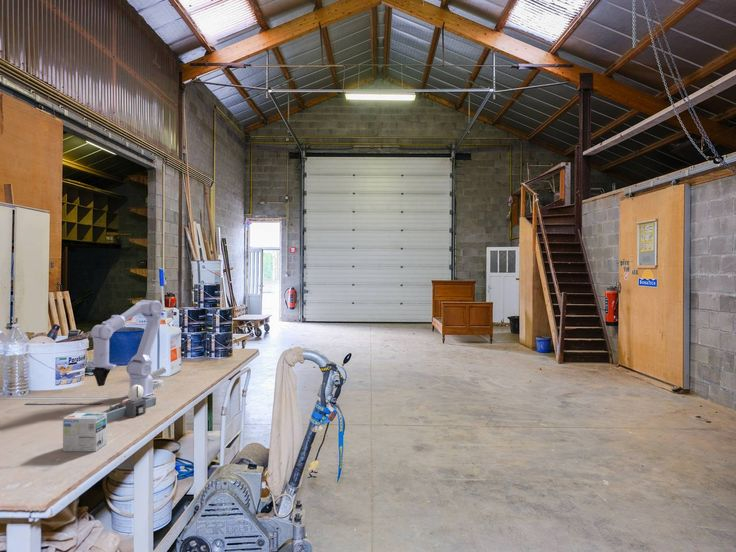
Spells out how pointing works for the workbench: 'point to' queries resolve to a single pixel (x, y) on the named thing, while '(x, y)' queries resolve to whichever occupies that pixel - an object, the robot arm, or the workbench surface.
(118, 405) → the walkie-talkie
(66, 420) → the light bulb box
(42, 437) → the workbench surface
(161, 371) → the wall hook
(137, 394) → the centring jig
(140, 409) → the gauge plunger
